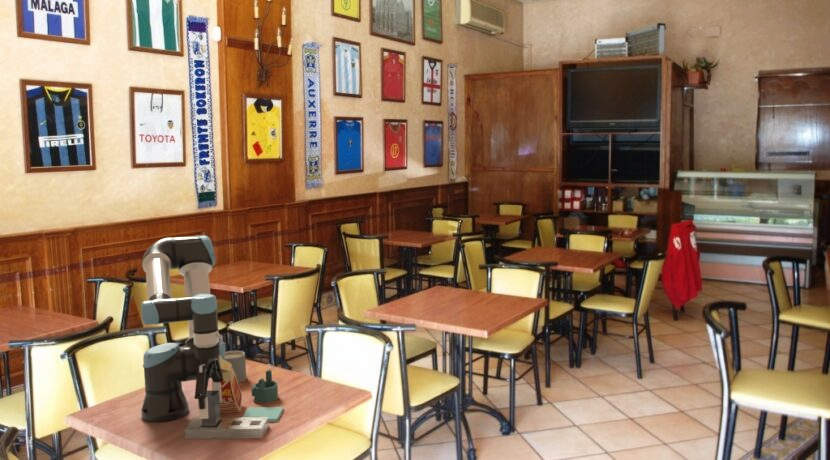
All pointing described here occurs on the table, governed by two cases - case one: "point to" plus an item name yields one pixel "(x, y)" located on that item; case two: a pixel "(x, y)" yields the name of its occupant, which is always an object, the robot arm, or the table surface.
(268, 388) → the bracket
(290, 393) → the table surface
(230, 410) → the milk carton
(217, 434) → the rail
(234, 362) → the coffee mug
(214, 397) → the grey rectangular block
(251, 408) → the teal pad
